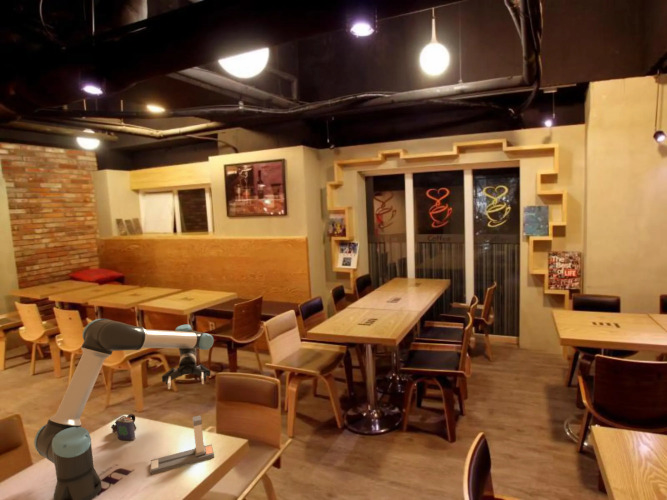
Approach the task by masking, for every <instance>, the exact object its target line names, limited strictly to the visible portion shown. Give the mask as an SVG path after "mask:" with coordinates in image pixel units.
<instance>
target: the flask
mask: <svg viewBox="0 0 667 500" xmlns="http://www.w3.org/2000/svg"><path fill="white" fill-rule="evenodd" d="M124 416H125V417H123V419H122V416H120V417H121V418H120V417H118V418H117V419H116V420H115V422H116V423H117V432H116V433H117V439H118V440H120V441H127V442H132V441H135V440H136V433H135V431H134V424H135V422H133V420H126V417H127V416H126V415H124ZM116 423H115V424H116Z"/></svg>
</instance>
